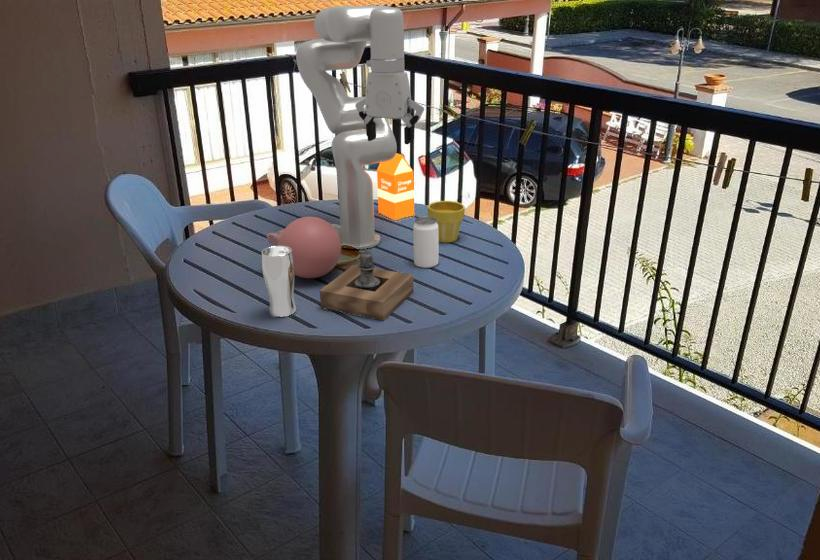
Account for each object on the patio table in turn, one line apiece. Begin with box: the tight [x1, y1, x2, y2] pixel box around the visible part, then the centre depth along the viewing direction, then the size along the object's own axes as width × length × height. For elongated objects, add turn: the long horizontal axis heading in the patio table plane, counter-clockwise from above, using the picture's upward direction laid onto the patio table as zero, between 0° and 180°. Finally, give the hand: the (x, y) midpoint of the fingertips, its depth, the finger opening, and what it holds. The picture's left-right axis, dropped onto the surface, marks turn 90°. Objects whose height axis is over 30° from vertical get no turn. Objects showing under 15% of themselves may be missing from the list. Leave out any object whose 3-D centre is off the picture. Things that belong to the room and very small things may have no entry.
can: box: [412, 216, 440, 269], centre depth 177 cm, size 6×6×12 cm
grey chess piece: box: [355, 248, 380, 292], centre depth 158 cm, size 6×6×12 cm
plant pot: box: [427, 200, 466, 243], centre depth 194 cm, size 10×10×10 cm
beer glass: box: [261, 245, 297, 317], centre depth 153 cm, size 7×7×15 cm
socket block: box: [319, 264, 414, 322], centre depth 160 cm, size 16×16×4 cm
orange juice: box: [376, 152, 415, 221], centre depth 211 cm, size 8×9×20 cm
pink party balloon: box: [265, 216, 342, 279], centre depth 172 cm, size 15×20×15 cm
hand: (390, 141), depth 163 cm, fingers open, 9 cm apart
